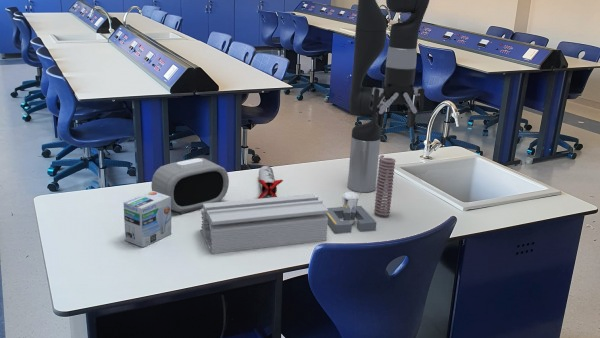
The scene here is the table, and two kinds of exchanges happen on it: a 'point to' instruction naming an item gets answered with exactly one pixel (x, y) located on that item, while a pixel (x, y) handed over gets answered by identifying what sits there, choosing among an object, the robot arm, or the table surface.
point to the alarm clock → (191, 183)
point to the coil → (384, 177)
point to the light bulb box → (147, 218)
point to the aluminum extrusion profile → (263, 223)
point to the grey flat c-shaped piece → (338, 226)
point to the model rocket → (267, 182)
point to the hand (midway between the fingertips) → (394, 126)
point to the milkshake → (349, 206)
